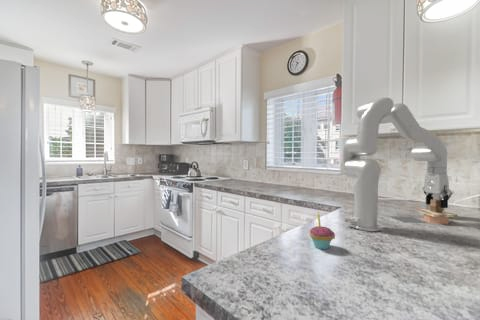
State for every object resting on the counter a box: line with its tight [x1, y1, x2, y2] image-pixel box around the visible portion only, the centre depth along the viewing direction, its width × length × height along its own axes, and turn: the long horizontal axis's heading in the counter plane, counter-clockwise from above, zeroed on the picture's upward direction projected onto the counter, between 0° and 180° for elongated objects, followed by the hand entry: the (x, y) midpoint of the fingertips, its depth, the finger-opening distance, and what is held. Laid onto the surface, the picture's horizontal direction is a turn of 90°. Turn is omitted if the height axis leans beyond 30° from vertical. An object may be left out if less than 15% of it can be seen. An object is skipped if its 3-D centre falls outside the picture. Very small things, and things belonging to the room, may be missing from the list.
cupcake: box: [309, 212, 336, 250], centre depth 80 cm, size 9×8×12 cm
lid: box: [416, 199, 459, 218], centre depth 113 cm, size 11×11×7 cm
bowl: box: [423, 214, 450, 225], centre depth 114 cm, size 9×9×4 cm
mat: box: [388, 215, 429, 224], centre depth 117 cm, size 12×12×1 cm
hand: (436, 205), depth 114 cm, fingers open, 8 cm apart
